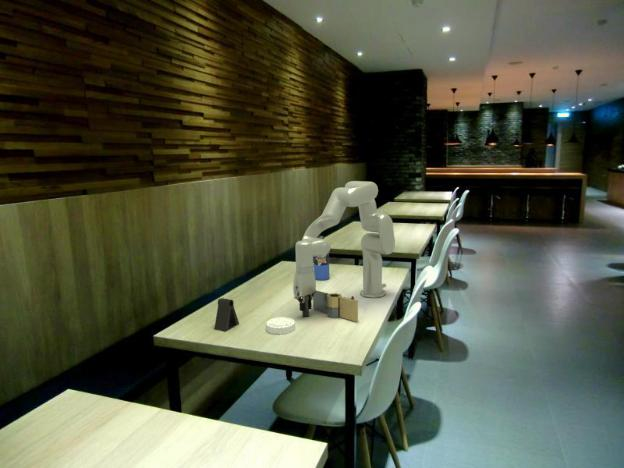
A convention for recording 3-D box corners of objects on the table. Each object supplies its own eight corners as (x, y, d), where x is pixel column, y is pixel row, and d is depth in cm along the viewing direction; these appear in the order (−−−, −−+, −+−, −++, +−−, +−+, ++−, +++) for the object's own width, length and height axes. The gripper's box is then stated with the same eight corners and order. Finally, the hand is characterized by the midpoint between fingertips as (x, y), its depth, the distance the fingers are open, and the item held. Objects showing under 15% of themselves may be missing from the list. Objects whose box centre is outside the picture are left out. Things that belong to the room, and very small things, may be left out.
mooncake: (288, 336, 172) (288, 328, 172) (261, 333, 176) (260, 324, 176) (299, 325, 183) (299, 317, 183) (273, 322, 187) (273, 314, 187)
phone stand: (225, 331, 178) (224, 303, 176) (214, 329, 181) (212, 301, 179) (239, 324, 186) (238, 297, 184) (228, 322, 188) (226, 295, 186)
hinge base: (318, 307, 204) (318, 288, 203) (344, 315, 194) (344, 295, 192) (309, 311, 200) (308, 291, 198) (335, 319, 189) (335, 298, 188)
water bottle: (329, 280, 250) (329, 237, 245) (313, 281, 250) (312, 237, 246) (329, 276, 259) (328, 234, 255) (313, 276, 259) (312, 235, 255)
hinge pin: (305, 314, 195) (305, 288, 193) (310, 316, 193) (310, 290, 191) (301, 316, 193) (300, 290, 191) (305, 318, 191) (305, 291, 189)
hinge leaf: (333, 311, 198) (333, 292, 197) (361, 319, 188) (361, 299, 186) (324, 315, 194) (324, 295, 192) (352, 323, 183) (352, 303, 182)
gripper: (311, 264, 198) (312, 303, 201) (285, 271, 186) (286, 312, 189) (323, 267, 193) (324, 306, 196) (297, 274, 181) (298, 316, 184)
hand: (305, 309), depth 193 cm, fingers closed on hinge pin, 3 cm apart
